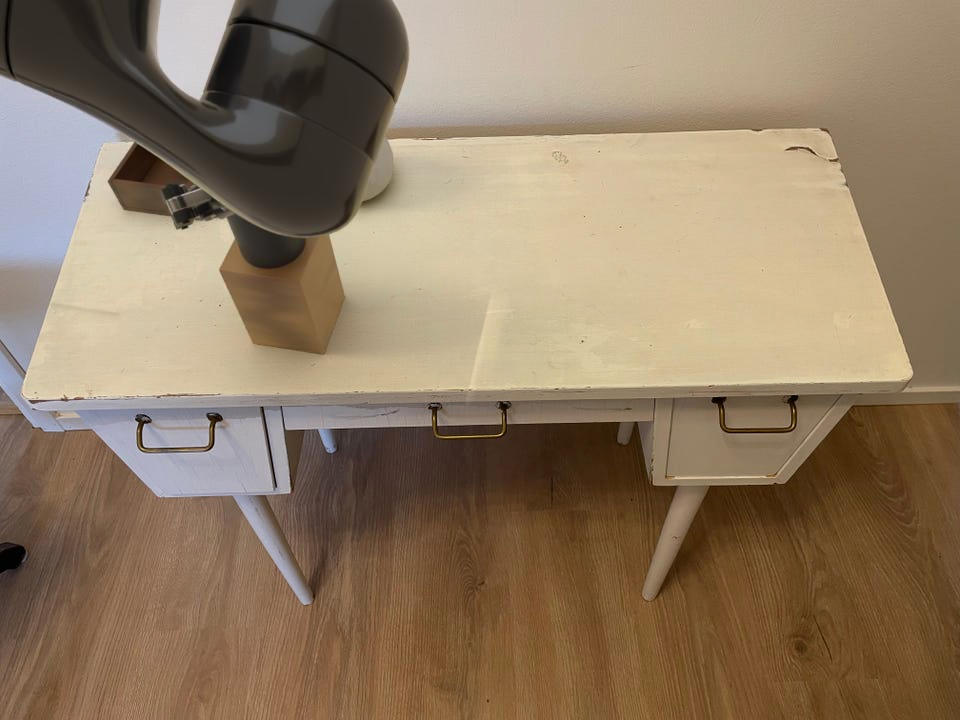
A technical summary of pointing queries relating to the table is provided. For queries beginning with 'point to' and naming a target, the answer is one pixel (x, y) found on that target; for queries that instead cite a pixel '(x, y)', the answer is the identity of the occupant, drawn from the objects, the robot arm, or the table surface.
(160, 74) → the robot arm
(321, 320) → the stand
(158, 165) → the bin
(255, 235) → the ball tube
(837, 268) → the table surface
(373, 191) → the toy character
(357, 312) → the table surface
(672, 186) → the table surface
